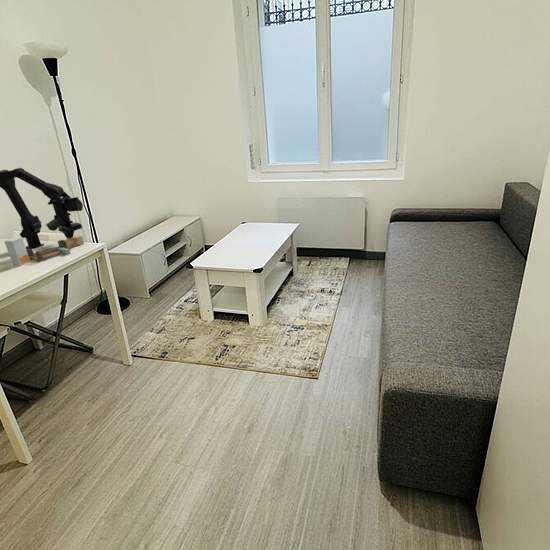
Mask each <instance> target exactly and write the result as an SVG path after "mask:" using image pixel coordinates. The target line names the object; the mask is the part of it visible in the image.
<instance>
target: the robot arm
mask: <svg viewBox="0 0 550 550" xmlns="http://www.w3.org/2000/svg"><path fill="white" fill-rule="evenodd" d="M15 178H18V179H19V180H21V181H23V182H25V183H27V184H28V185H30V186H32V187H34V188H35V189H38V190H40V191H41V193H42V194H43V195H44V196H46V197H47V198H48V199H49V201H48V203H47V205H52V207H53V210H54V215H53V219H51V220H50V221H49V222H48V223H46V224H45V226H46V227H47V228H48V229H49V231H53V232H55V231H56V230H57V231H59V232H61V233H63V235H64V237H65V238H66V239H69V238H72V237H74V233H75V231H77V230H81V229H83V225H82V224H81V223H80V222H73V220H71V218H70V216H71V215H72V214H71V212H82V211H83V209H84V205H83V202H82V201H81V200H80V199H79V197H78V196H74V197H71V196H69V194H68V193H67V192H66V191H64V188H63V187H61V186H59V185H56V184H54V183H49V182H46V181H45V180H42V179H41V178H39V177H37V176H36V175H34V174H32V173H30V172H28V171H26V170H25V169H24V168H22V167H17V168H14V169H12V170H8V169H2V170H0V189H1V190H3V191H4V192H5V193H6V195H7V197H8V198H9V200H10V202H11V204H12V205H13V207H14V209H15V210H16V212H17V213H18V215H19V217H20V225H21V227H22V230H21V232H19V237H22V238H23V239H25V240H26V243H27V245H25V247H26V249H32V250H34V249H36V248H40V247H42V246H45V244H44V243H41V241H40V238H39V233H41V229H42V221H41V220H40V218H39V216H38V215H35V216H34V215H33V214H32V213H31V211H30V209H29V208H28V206H27V205H26V203H25V201H24V199H23V197H22V196H21V194H20V193H19V191H18V188H16V179H15Z"/></svg>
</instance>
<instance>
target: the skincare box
mask: <svg viewBox="0 0 550 550" xmlns="http://www.w3.org/2000/svg"><path fill="white" fill-rule="evenodd" d="M4 245H5V247H6V249H7V253H8V255H9V258H10V262H11V264H12V266H13V267H21V266H23V265H25V264H27V263H30V262H31V260H30V259H29V256H28V253H27V248H26V245H25V242H24V238H22V237H21V236H14V237H11V238H9V239H7V240H4Z"/></svg>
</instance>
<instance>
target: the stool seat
mask: <svg viewBox="0 0 550 550" xmlns="http://www.w3.org/2000/svg"><path fill="white" fill-rule="evenodd" d="M58 248H59V247H57V248H55V249H54V248H53V249H52V248H46V249H43V250H37V251H35V253H34V251H33V249H30V248H26V250H27V253H28V256H29V259H30V261H34V262H37V263H41V262H45V261H47V260H50V259H53V258H56V257H59V256H61V255H63V254H62V252H61V251H58Z"/></svg>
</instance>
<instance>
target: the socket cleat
mask: <svg viewBox="0 0 550 550" xmlns="http://www.w3.org/2000/svg"><path fill="white" fill-rule="evenodd" d="M57 248H58V251H61V252H62V254H61V255H66V256H68V255H71V251H70V249H66V248H62V247H60V248H59V247H57Z"/></svg>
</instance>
